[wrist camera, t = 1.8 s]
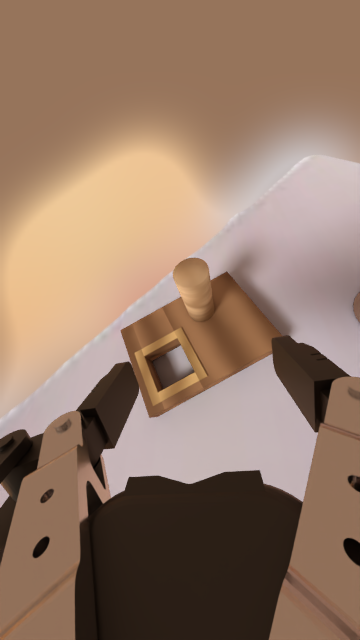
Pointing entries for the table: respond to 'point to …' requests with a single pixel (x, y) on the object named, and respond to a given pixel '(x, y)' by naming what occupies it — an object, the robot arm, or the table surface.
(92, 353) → the table surface
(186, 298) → the pin
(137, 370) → the pin board
